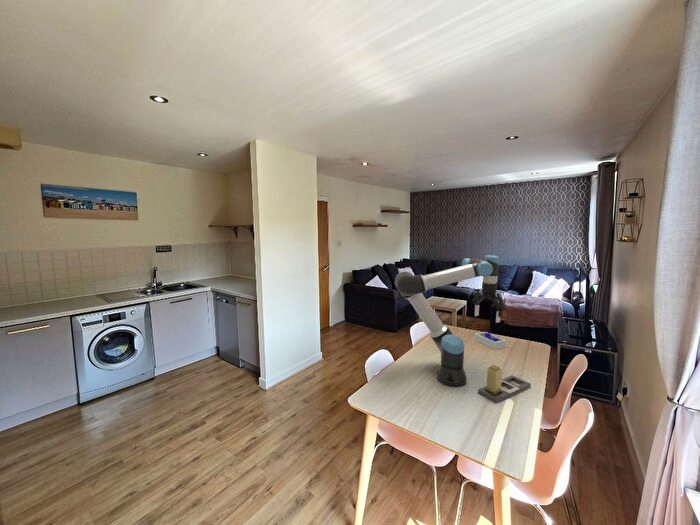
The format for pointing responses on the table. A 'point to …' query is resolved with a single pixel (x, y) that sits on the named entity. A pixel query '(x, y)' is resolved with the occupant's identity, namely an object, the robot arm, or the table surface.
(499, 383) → the brass peg
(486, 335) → the blue arch block
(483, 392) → the grey peg hole board
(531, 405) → the table surface
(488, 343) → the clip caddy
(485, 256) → the robot arm
